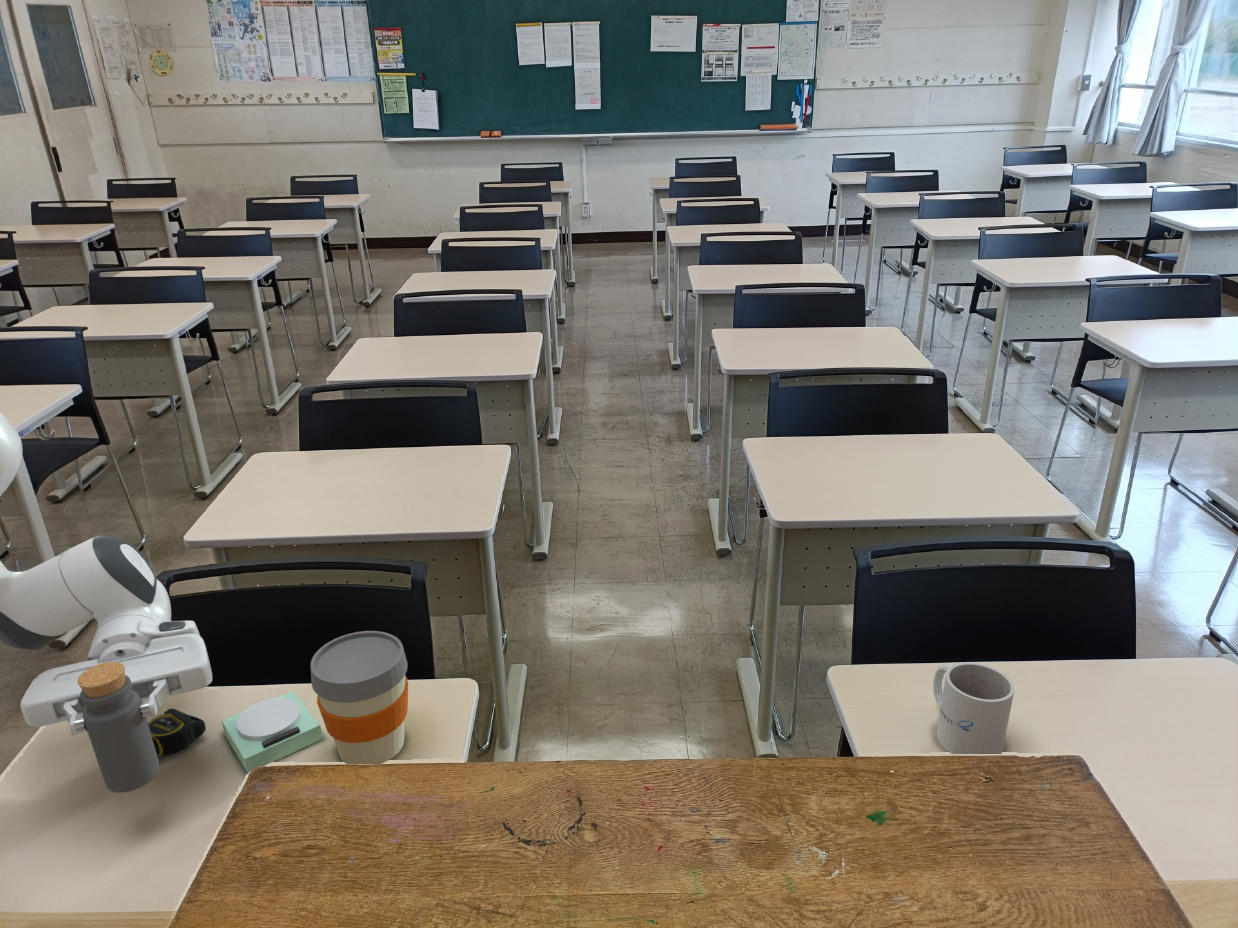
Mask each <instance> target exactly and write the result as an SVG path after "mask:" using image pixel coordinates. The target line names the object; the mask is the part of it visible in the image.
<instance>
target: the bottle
mask: <svg viewBox="0 0 1238 928" xmlns="http://www.w3.org/2000/svg"><path fill="white" fill-rule="evenodd" d="M78 684H79V686H80V687H81V689H82V691H81V693H80V698H81V701H82V703H83V704H84V705H85V706H86V707H85V709H84V711H83V719H84V722H85V725H86V728H87V732H86V733H87V734H88V737H89V740H90V743H91V746H92V749H93V753H94V755H95V756H94V757H95V758H96V762H97V764H98V768H99V770H100V773H101V776H102V778H103V781H104V784H105V786H106V788H107V790H109V792H113V793H117V794H118V793H119V794H120V793H121V794H122V793H129V792H133V791H134V790H135V791H136V790H138V789H140V788H142V787H144V786H145V785H147V784H149V783H150V782H151V781H152V780H153V779H155V777H157V775H158V773H159V772H160V767H161V766H160V762H159V757H158V755H157V754H156V750H155V747H154V743H153V740H152V737H151V733H150V730H149V727H148V723H149V722H148V720H147V717H145V718H142V713H141V712H140V704H141V701H140V698H139V696H138V694H137V693H136V692H134V691H132V690H131V688H132V683H131V680H130V678H129V677H128V676H127V675H125V667H124V665H123V664H121V663H118V662H107V663H102V664H99V665H96V666H94V667H92V668H90V669H88V670H86V671H85V672H84V673H82V674H81V675H80V677H79V678H78Z"/></svg>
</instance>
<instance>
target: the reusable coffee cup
mask: <svg viewBox="0 0 1238 928" xmlns="http://www.w3.org/2000/svg"><path fill="white" fill-rule="evenodd" d="M407 672H408V660H407V657H406V653H405V649H404V646H403V643H402V641H401V640H400V639H399V638H398V637H397V636H395V635H393V634H392V633H388V632H384V631H379V630H378V631H377V630H365V631H363V630H362V631H356V632H352V633H347V634H344V635H341V636H339V637H336V638H334V639H332V640H330V641H328V642H326V643H325V644H324V645H323V646H321V647H320V648H319V649H318V650H317V651H316V652H315V654H314V655H313V656H312V658H311V660H310V681H311V688H312V690H313V692H314V693H315V694H316V695H317V697H316V704H317V707H318V711H319V712H320V715H321V718H322V721H323V724H324V726H325V729H326V732H327V733H328V734H329V736H330V737H332V739H333V741H334V744H335V747H336V751H337V753H338V755H339V758H340V760H341V761H342V762H343V763H344V764H346V765H347V764H379V765H382V764H384V763H386V762H388V761H390V760H392V759H393V758H395V757H396V756H397V755H398V754H399V753H400V751H401V750H402V748H403V747H404V744H405V723H406V721H405V719H406V717H407V715H408V710H409V679H408V677H407V676H406V673H407Z"/></svg>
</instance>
